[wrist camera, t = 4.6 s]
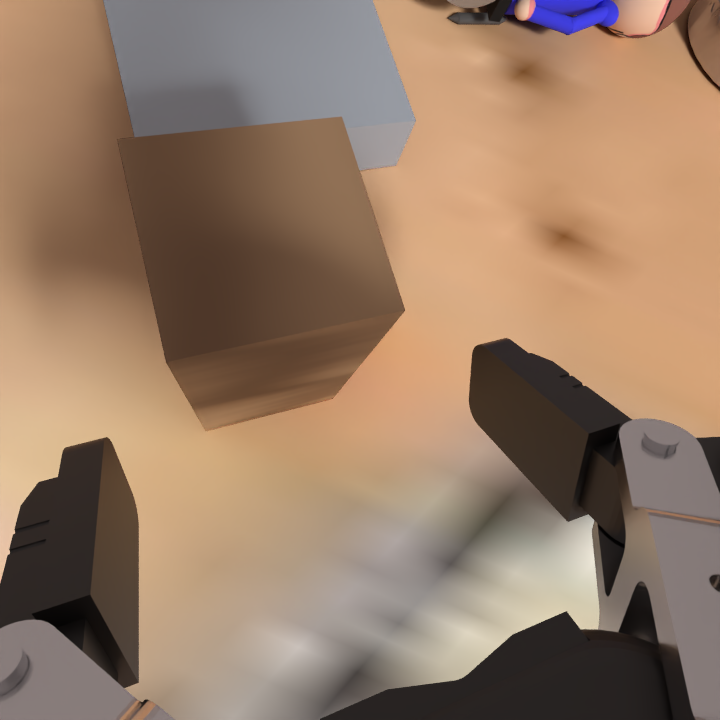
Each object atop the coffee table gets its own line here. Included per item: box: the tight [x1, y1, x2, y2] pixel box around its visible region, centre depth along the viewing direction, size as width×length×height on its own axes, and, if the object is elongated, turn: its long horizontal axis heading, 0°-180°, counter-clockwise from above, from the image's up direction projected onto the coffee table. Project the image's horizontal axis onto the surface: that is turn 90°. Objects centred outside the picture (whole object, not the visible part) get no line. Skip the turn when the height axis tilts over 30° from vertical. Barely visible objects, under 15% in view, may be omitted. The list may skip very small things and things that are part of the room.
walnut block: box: [117, 117, 405, 431], centre depth 16 cm, size 5×5×10 cm
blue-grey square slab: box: [103, 0, 416, 170], centre depth 22 cm, size 11×11×3 cm
